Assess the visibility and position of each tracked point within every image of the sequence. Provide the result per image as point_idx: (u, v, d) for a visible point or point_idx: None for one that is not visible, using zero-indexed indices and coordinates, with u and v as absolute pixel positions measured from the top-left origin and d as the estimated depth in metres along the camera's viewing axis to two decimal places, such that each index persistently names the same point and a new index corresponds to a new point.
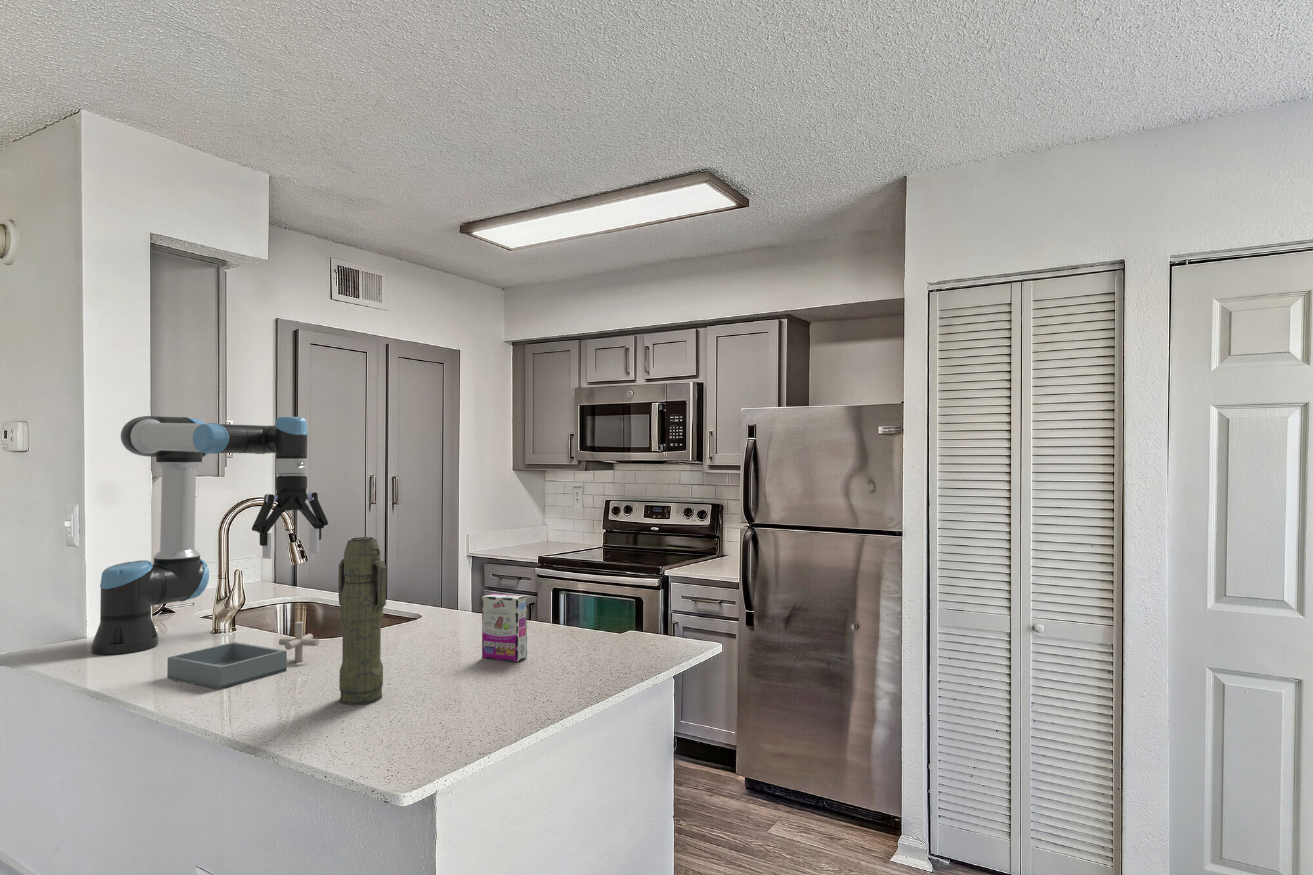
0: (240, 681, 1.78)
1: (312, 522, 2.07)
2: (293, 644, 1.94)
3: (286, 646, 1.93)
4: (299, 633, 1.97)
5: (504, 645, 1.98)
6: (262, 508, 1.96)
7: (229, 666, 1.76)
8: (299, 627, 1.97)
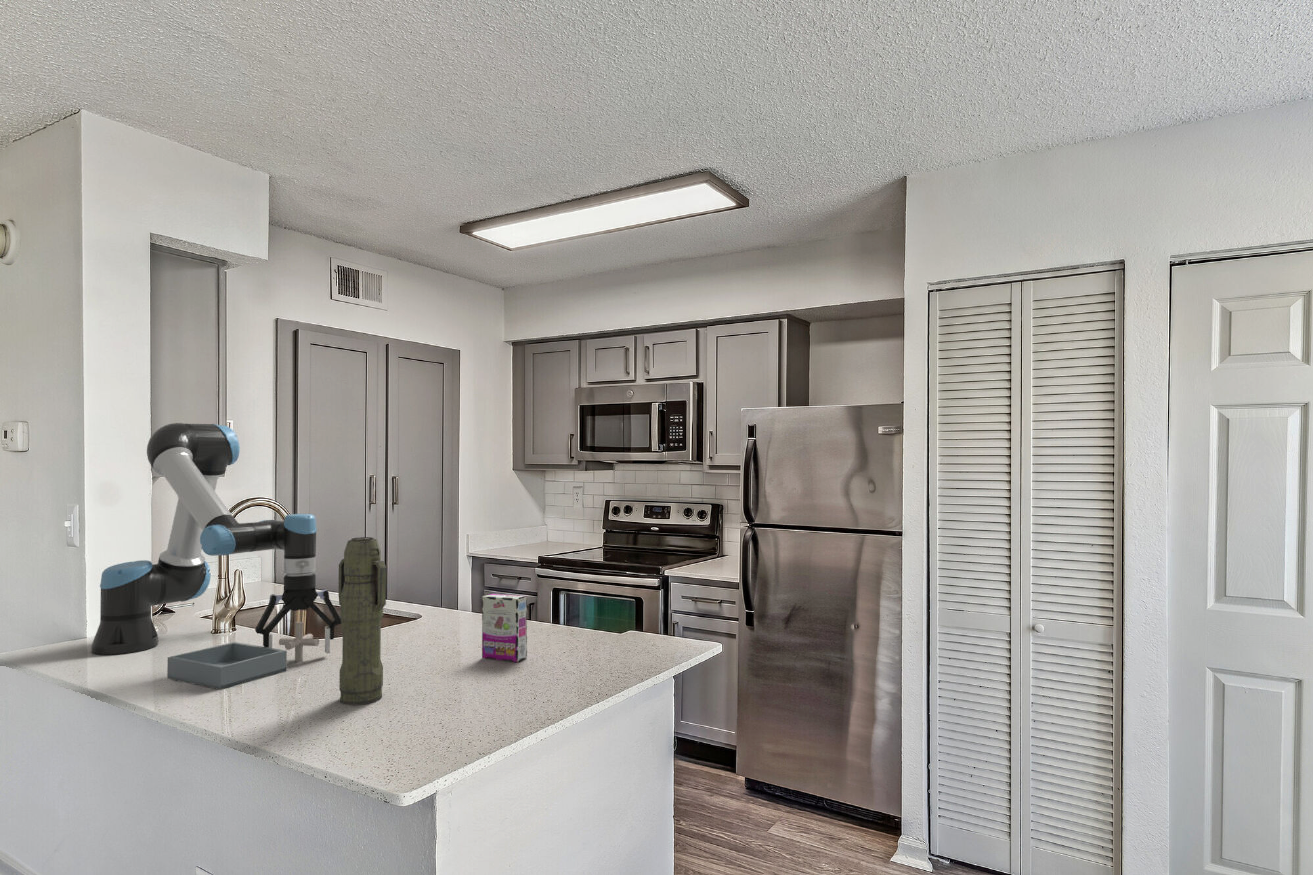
0: (240, 681, 1.78)
1: None
2: (293, 644, 1.94)
3: (286, 646, 1.93)
4: (299, 633, 1.97)
5: (504, 645, 1.98)
6: (266, 609, 1.95)
7: (229, 666, 1.76)
8: (299, 627, 1.97)
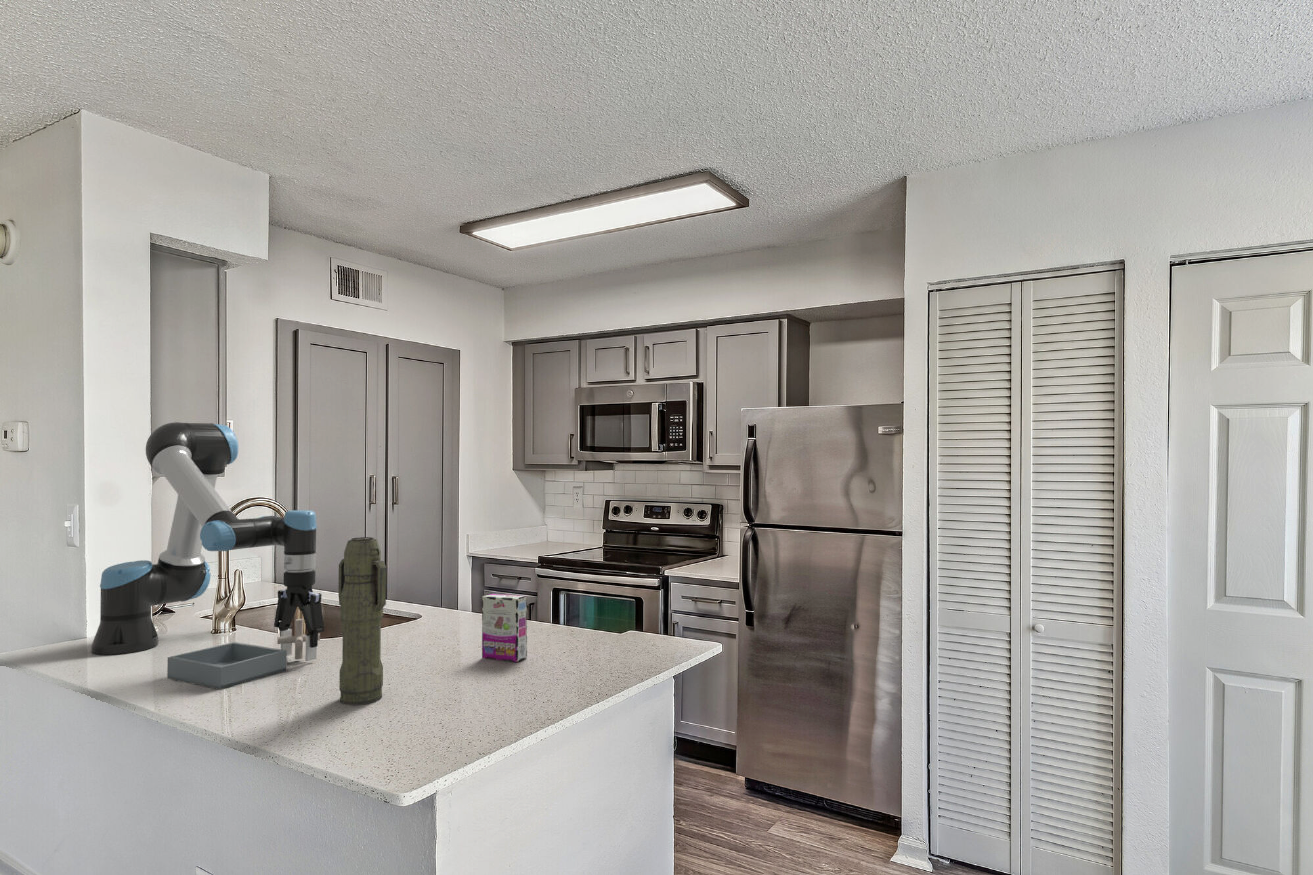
0: (240, 681, 1.78)
1: None
2: (281, 640, 1.96)
3: None
4: (296, 630, 1.98)
5: (504, 645, 1.98)
6: None
7: (229, 666, 1.76)
8: (296, 624, 1.98)
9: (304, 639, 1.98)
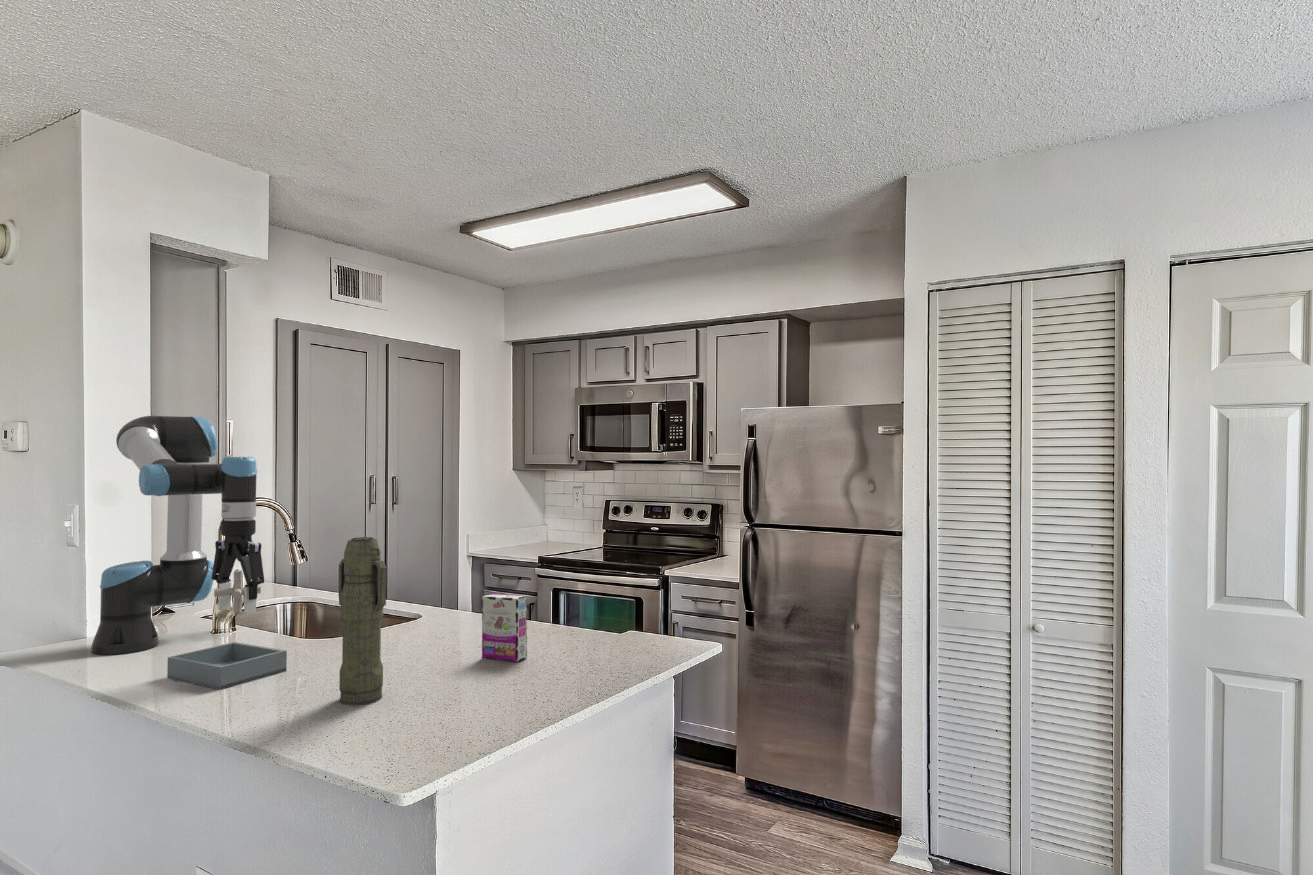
0: (240, 681, 1.78)
1: None
2: (218, 592, 1.86)
3: None
4: (234, 582, 1.87)
5: (504, 645, 1.98)
6: None
7: (229, 666, 1.76)
8: (234, 576, 1.87)
9: (243, 592, 1.88)
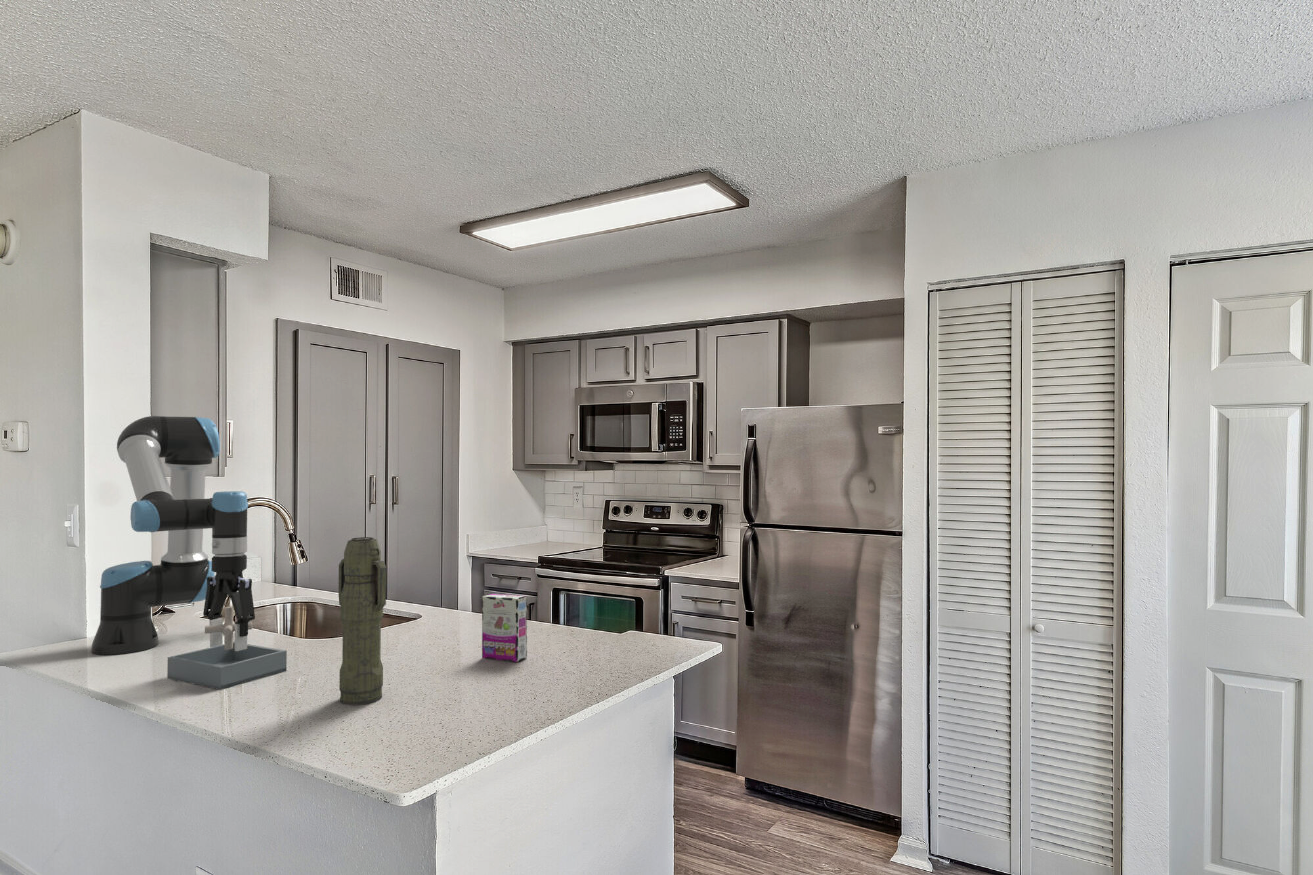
0: (240, 681, 1.78)
1: None
2: (209, 629, 1.84)
3: (205, 629, 1.85)
4: (225, 618, 1.85)
5: (504, 645, 1.98)
6: None
7: (229, 666, 1.76)
8: (225, 612, 1.86)
9: (234, 628, 1.86)
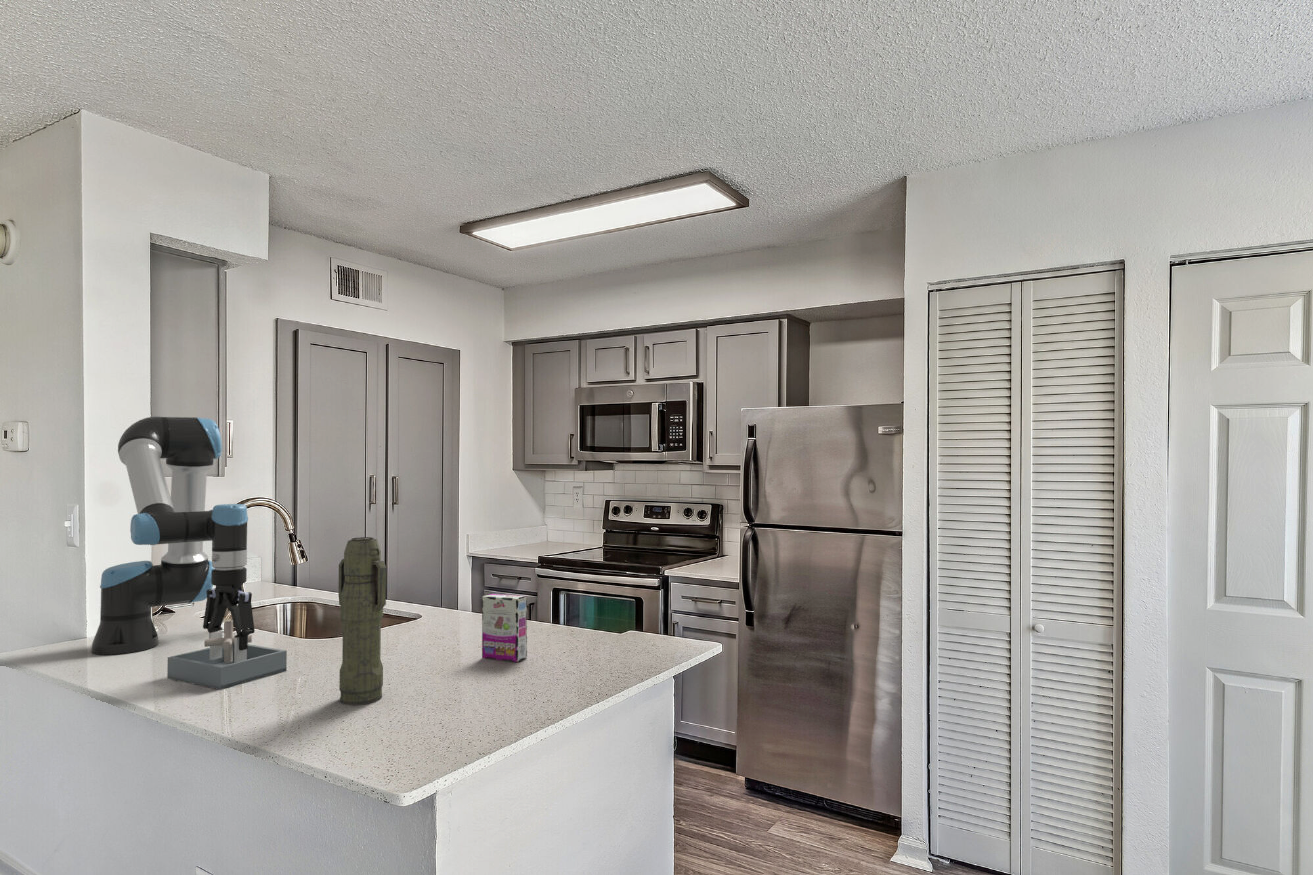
0: (240, 681, 1.78)
1: None
2: (209, 642, 1.84)
3: None
4: (225, 631, 1.85)
5: (504, 645, 1.98)
6: None
7: (229, 666, 1.76)
8: (225, 625, 1.86)
9: None
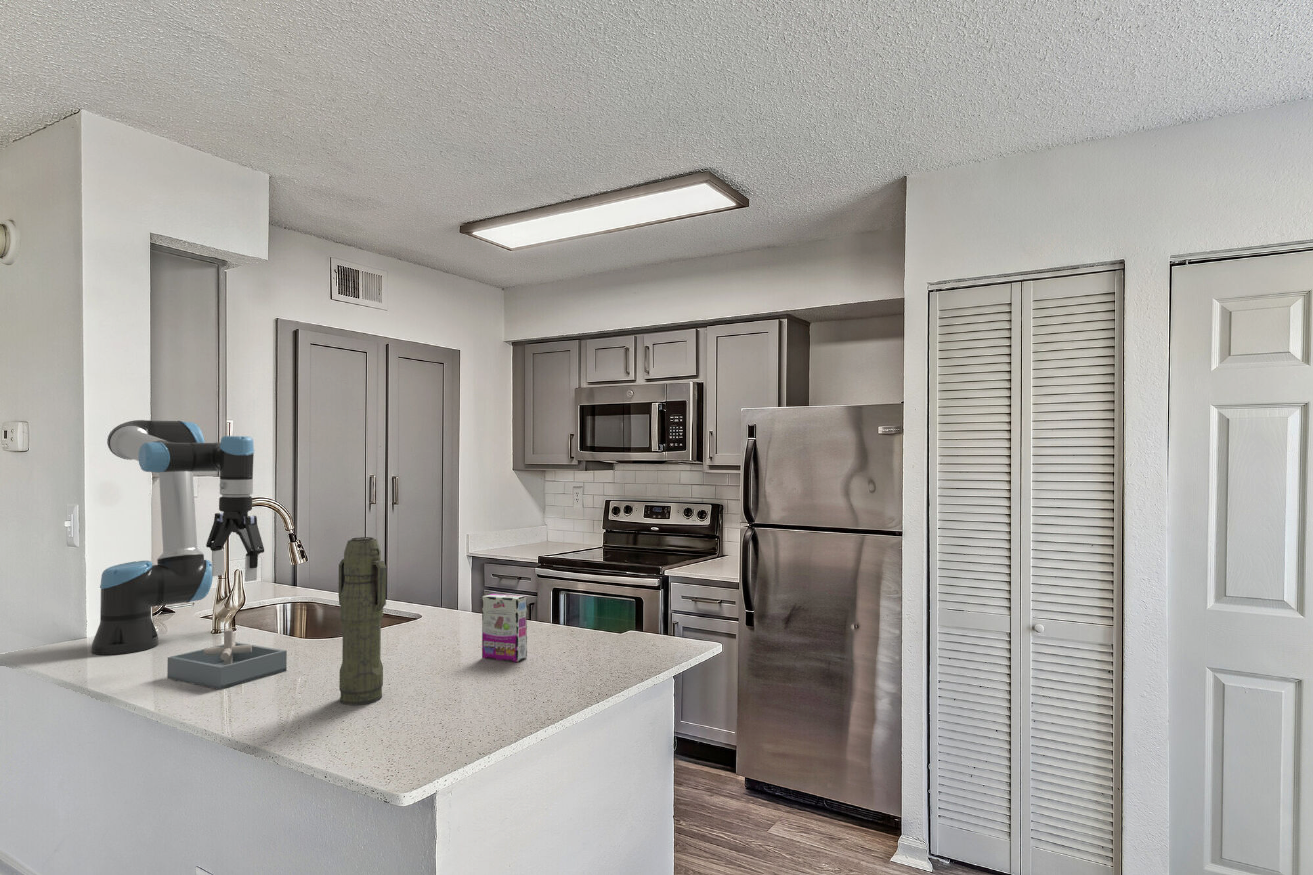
0: (240, 681, 1.78)
1: None
2: (208, 651, 1.84)
3: None
4: (224, 641, 1.85)
5: (504, 645, 1.98)
6: None
7: (229, 666, 1.76)
8: (224, 635, 1.85)
9: (233, 651, 1.86)
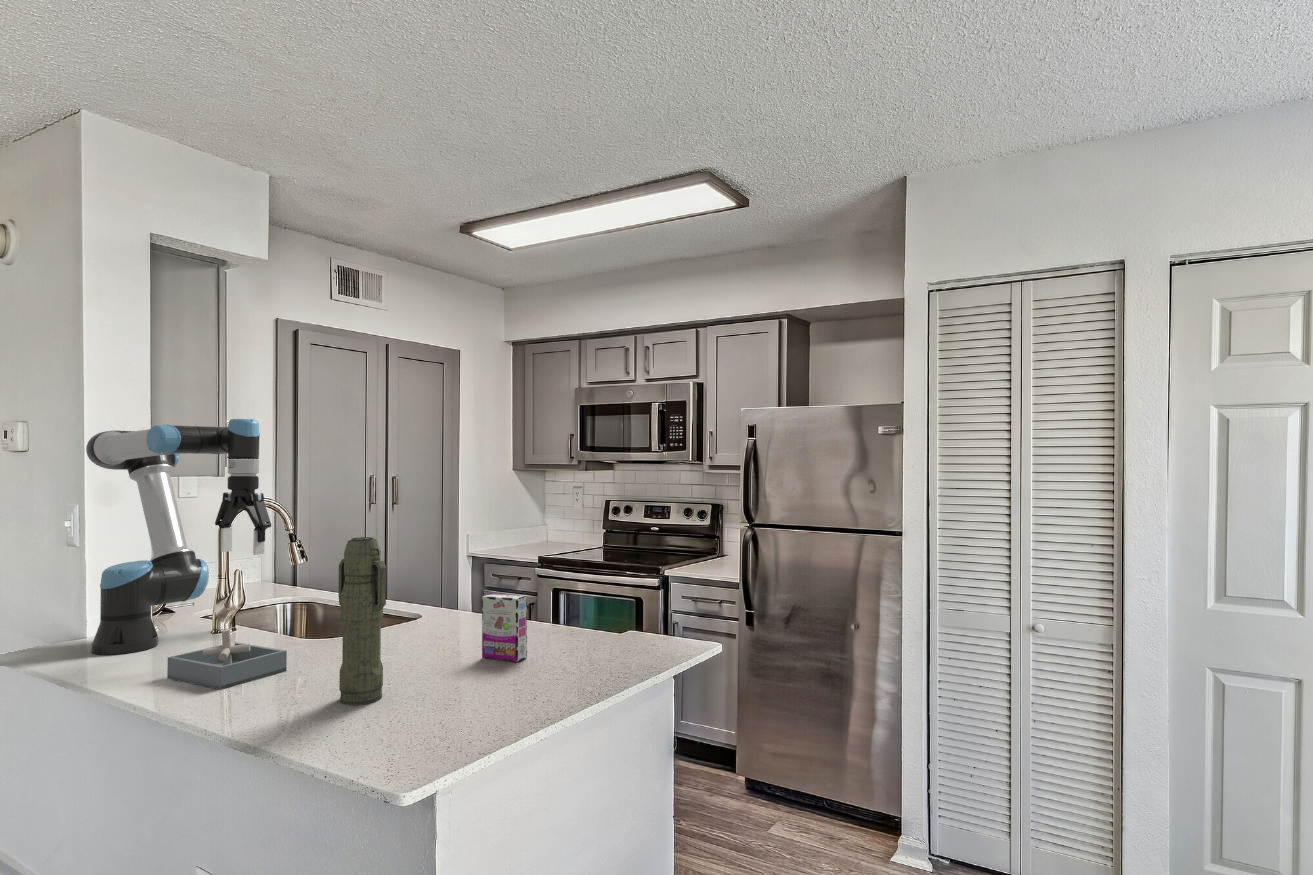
0: (240, 681, 1.78)
1: None
2: (207, 652, 1.84)
3: None
4: (222, 641, 1.85)
5: (504, 645, 1.98)
6: None
7: (229, 666, 1.76)
8: (222, 635, 1.85)
9: (232, 651, 1.85)
